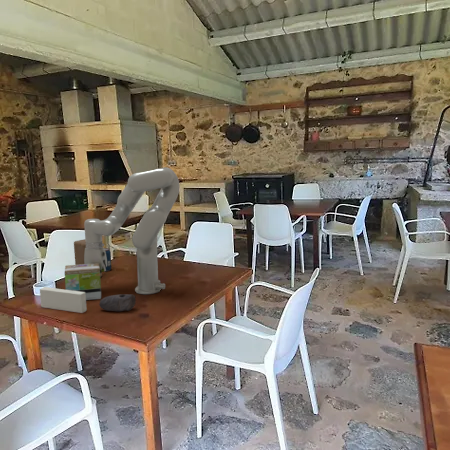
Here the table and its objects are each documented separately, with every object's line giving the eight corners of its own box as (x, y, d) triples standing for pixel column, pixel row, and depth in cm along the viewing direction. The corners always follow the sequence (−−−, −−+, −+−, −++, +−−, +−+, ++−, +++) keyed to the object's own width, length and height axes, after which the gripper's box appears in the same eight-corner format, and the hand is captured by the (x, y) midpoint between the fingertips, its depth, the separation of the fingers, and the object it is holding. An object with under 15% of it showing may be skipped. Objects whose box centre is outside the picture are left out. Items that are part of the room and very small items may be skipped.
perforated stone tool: (97, 312, 165) (96, 297, 164) (102, 307, 170) (101, 292, 169) (133, 313, 164) (132, 297, 163) (136, 308, 169) (136, 292, 168)
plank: (86, 310, 167) (85, 292, 166) (82, 313, 164) (80, 294, 163) (46, 304, 174) (44, 287, 172) (41, 307, 171) (39, 289, 170)
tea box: (66, 303, 175) (63, 271, 172) (67, 295, 184) (64, 265, 182) (101, 299, 180) (99, 267, 177) (101, 291, 189) (99, 261, 187)
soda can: (96, 270, 223) (94, 250, 221) (105, 267, 229) (103, 247, 227) (105, 272, 220) (103, 251, 218) (114, 269, 226) (112, 248, 224)
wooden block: (86, 281, 204) (83, 243, 201) (75, 278, 210) (72, 241, 207) (103, 276, 212) (100, 240, 209) (91, 273, 218) (89, 237, 215)
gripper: (112, 244, 188) (114, 281, 191) (86, 242, 193) (88, 278, 196) (102, 248, 181) (105, 286, 184) (75, 245, 186) (78, 283, 189)
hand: (96, 282), depth 190 cm, fingers closed
